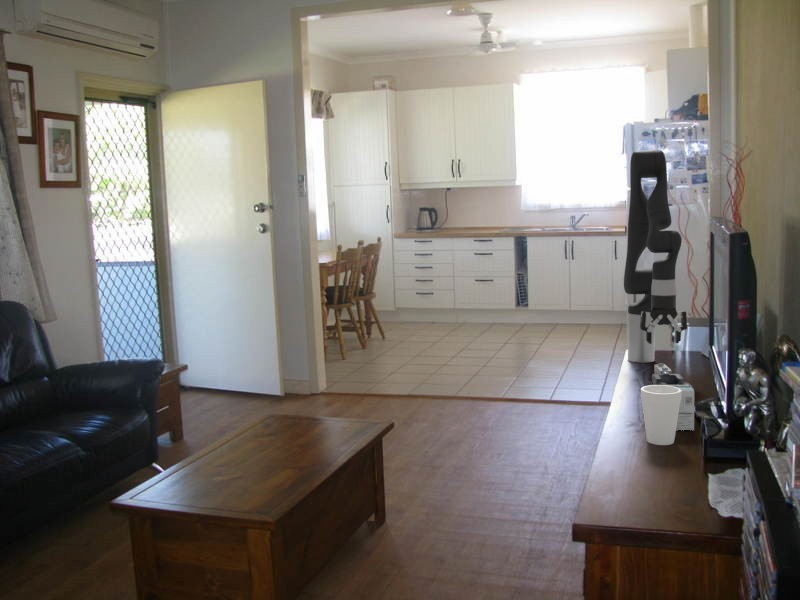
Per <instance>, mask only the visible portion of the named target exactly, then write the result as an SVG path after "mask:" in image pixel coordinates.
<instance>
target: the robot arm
mask: <svg viewBox="0 0 800 600" xmlns="http://www.w3.org/2000/svg"><path fill="white" fill-rule="evenodd" d="M629 166H630V167H629V171H630V175H629V177H630V179H629V180H630V181H629V182H630V187H629V188H630V192H629V193H630V194H629V195H630V197H629V209H628V221H627V249H626V259H625V267H624V275H623V290H624V292H625V293H626V294H627V295H644V296H643V298H641V299H639V300H638V301H636V302H632V303H630V304H629V305H628V307H627V321H628V322H627V361H628V362H632V363H640V364H641V363H643V364H644V363H653V362H655V357H656V356H655V353H656V352H655V350H656V349H655V348H656V346H655V343H656V342H655V340H656V339H655V338H656V332H655V331H656V329H655V328H656V326H657V325H659V326H663V325H665V326H669V325H671V327H673V328H674V330H675V331H674V342H675V344H680V342H681V341H682V340H681V339H682V332H683V331H686V330H687V329H688V319H687V318H688V317H687V312H686V311H685V310H684V309H683V310H681V311H677V282H676V268H677V267H676V266H677V259H678V258H679V257H678V256H679V253H680V250H681V247H682V240H683V239H682V235H681V233H680V232H679V231H677V230H666V229H667V228H669V227H670V226H671V225H672V215H671V211H670V206H669V205H670V204H669V198H668V173H667V172H668V171H667V170H668V168H667V160H666V156H665V153H664V152H663V150H659V149H647V150H645V149H643V150H635V151H633V152H632V154H631V157H630V163H629ZM654 178H655V179H656V184H655V186H654V189H653V190H652V192H651V193H650V195H649V197H648V198H647V196H646V194H645V192H644V189H643V185H642V179H654ZM646 248H647V249H648V250H649V252H651V253H653V254H666V253H667V256H666V257H665V258H663V259H660V260H659V259H658V260H656V261H654V262H652V265H651V266H652V267H649V268H647V267H643V268H641V267H639V268H637V264H638V261H639V259H640V257H641V255H642V254H643V252H644V251H645V250H646ZM677 316H678V317H679V318H680V322H681V323H680V324H681V325H680V326H679V324H678V323H677V322H676V321H675V319H676V318H677Z"/></svg>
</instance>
